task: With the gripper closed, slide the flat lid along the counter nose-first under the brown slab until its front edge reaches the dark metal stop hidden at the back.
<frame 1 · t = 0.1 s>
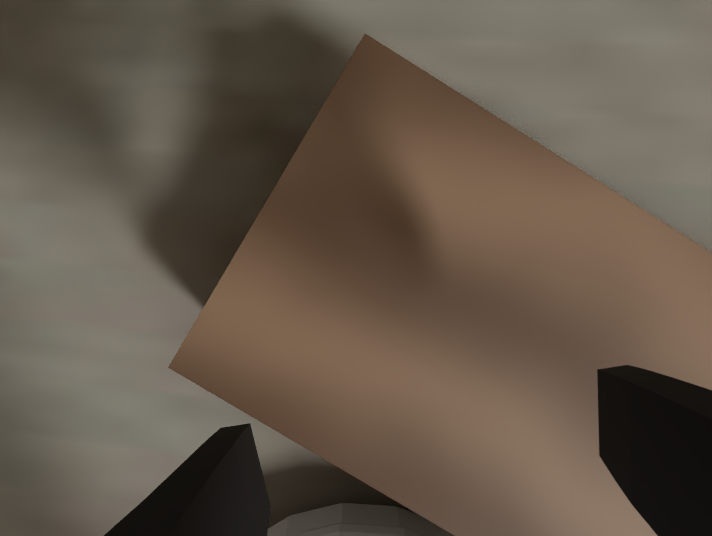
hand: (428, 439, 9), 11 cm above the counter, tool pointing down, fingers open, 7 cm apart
brown slab: (534, 364, 19), on the counter
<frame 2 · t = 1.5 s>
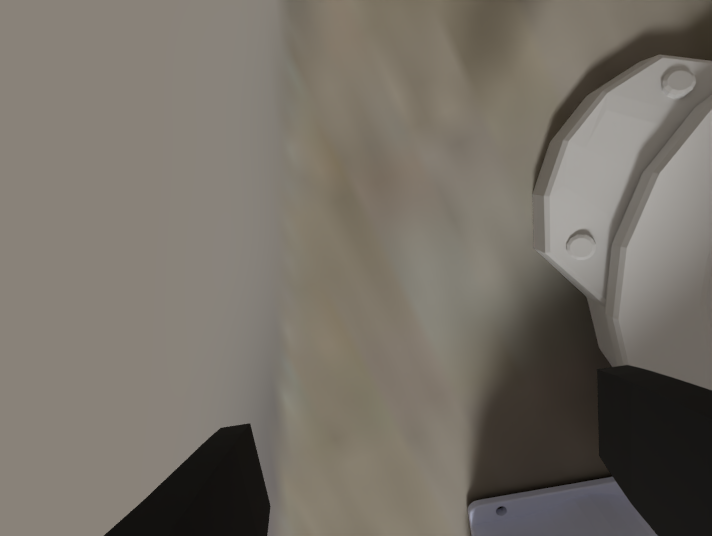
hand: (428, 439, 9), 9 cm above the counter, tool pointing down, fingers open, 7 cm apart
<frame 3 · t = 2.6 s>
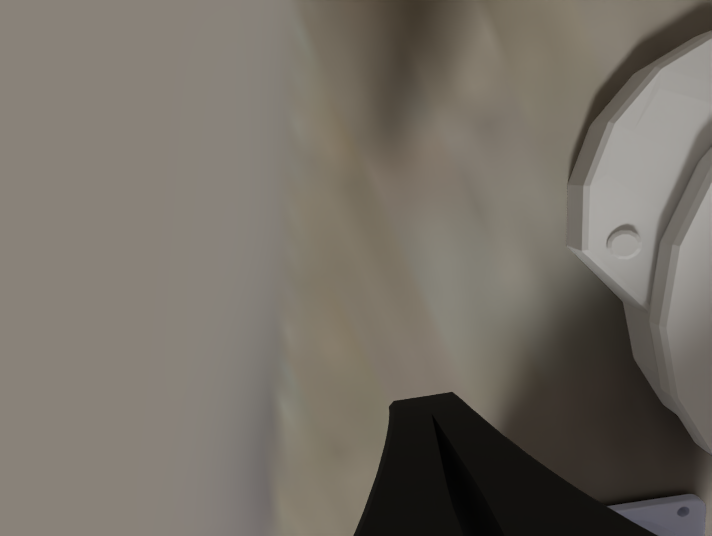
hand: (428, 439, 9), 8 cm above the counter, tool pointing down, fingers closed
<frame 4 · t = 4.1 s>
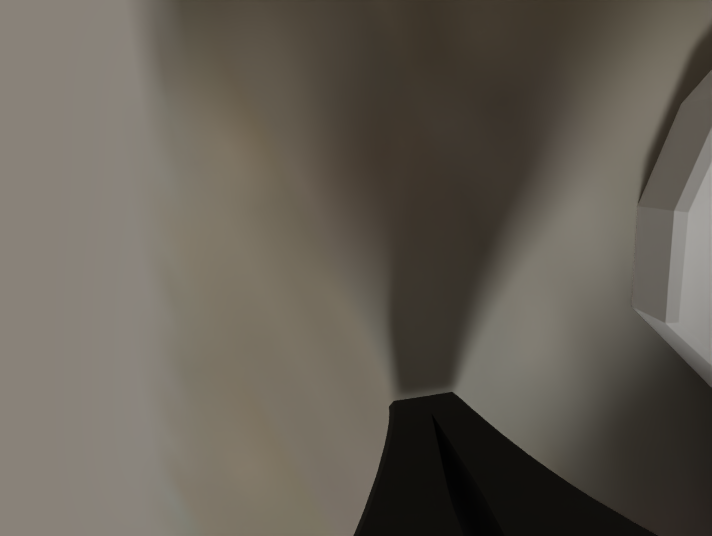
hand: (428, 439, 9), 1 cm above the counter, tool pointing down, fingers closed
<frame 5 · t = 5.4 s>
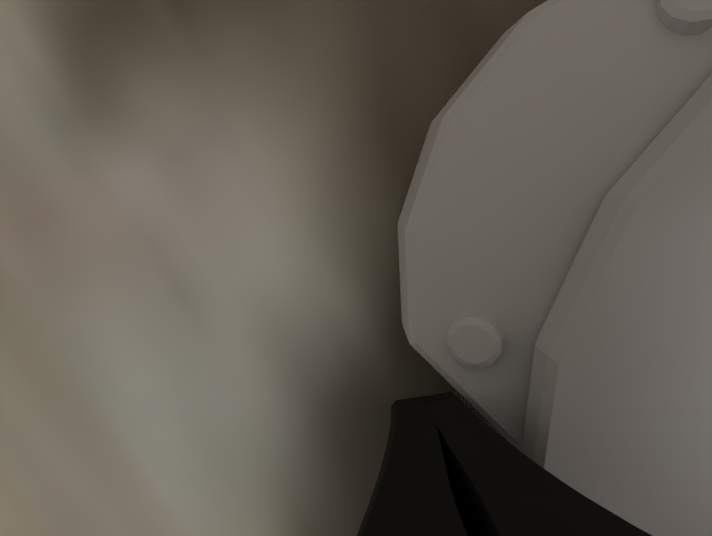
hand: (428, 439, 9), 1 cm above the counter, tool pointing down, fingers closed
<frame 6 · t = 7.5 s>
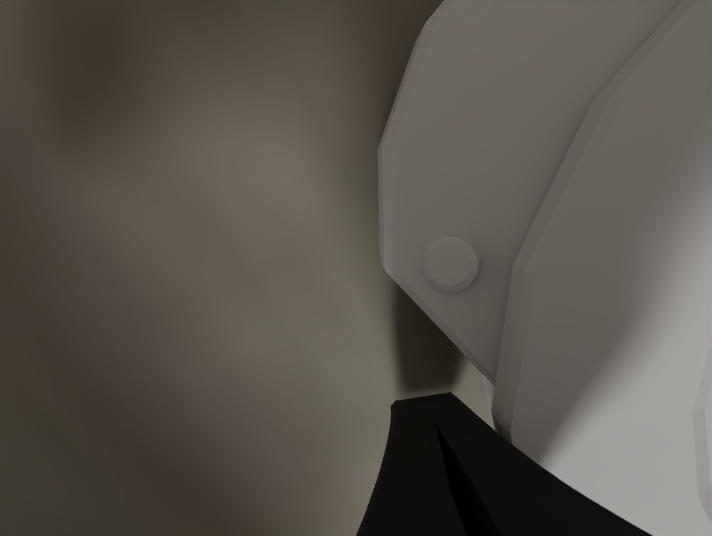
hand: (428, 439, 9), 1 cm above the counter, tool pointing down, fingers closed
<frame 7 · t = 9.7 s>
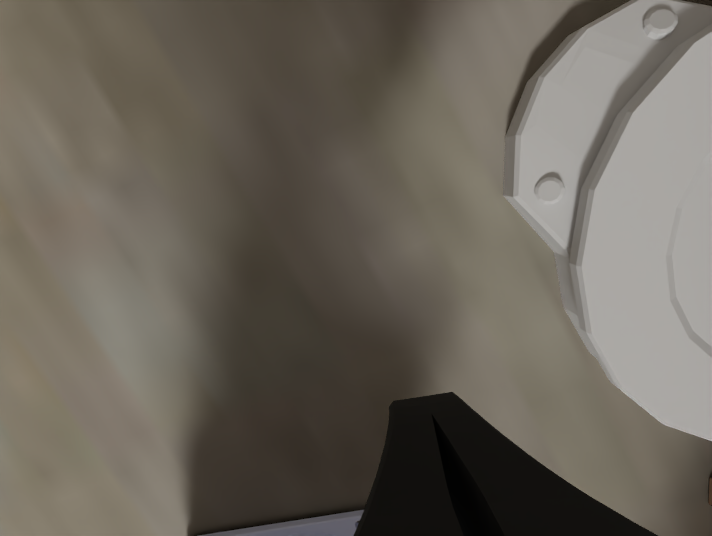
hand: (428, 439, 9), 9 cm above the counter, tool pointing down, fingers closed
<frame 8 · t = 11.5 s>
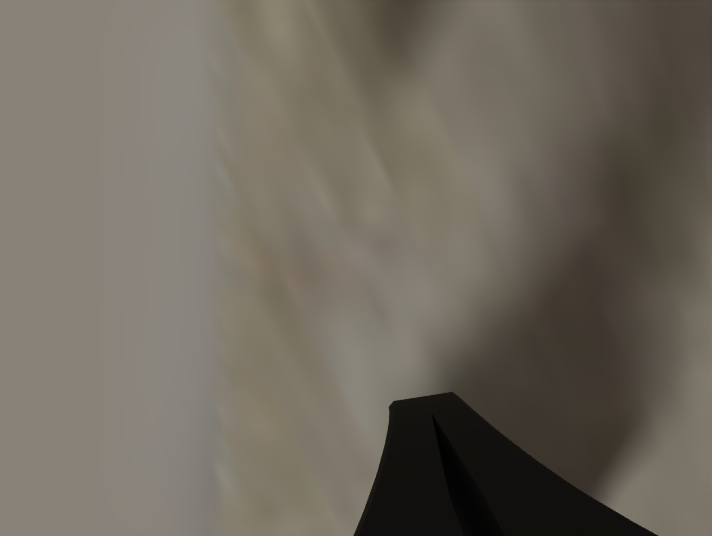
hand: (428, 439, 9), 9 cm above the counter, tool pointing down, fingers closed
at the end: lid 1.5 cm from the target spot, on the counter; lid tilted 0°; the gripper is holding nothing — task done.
